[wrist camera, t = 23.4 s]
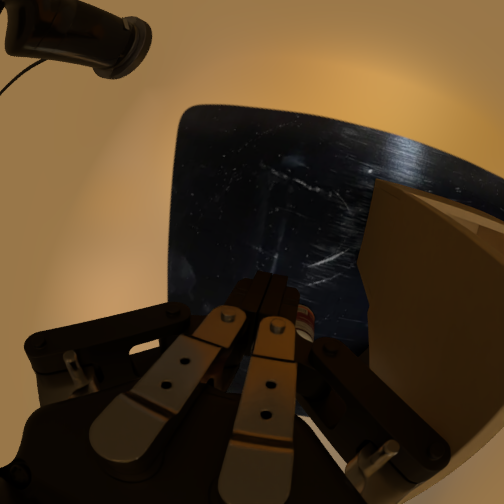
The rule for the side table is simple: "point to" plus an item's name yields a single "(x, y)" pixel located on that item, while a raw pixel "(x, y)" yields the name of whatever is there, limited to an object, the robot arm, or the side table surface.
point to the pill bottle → (305, 323)
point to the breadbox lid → (441, 329)
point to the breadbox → (383, 222)
